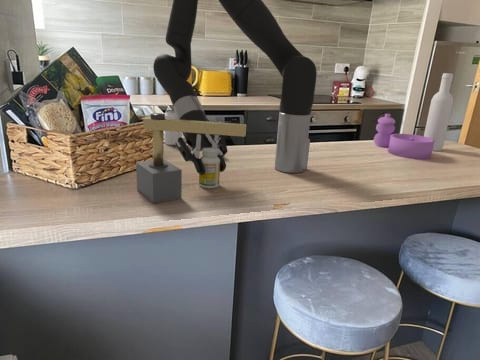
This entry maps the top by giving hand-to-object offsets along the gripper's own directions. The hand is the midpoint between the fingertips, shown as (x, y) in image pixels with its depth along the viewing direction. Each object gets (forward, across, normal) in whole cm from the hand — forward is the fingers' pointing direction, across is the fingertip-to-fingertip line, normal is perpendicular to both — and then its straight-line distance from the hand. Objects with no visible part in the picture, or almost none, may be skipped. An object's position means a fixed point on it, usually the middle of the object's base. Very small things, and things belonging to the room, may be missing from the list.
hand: (213, 171), depth 97 cm
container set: (+1, +88, +6) cm, 88 cm away
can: (-31, +12, +37) cm, 49 cm away
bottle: (+3, +105, +3) cm, 105 cm away
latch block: (+2, -14, +4) cm, 15 cm away
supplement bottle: (+2, 0, +4) cm, 5 cm away
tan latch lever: (+1, -8, -5) cm, 9 cm away
